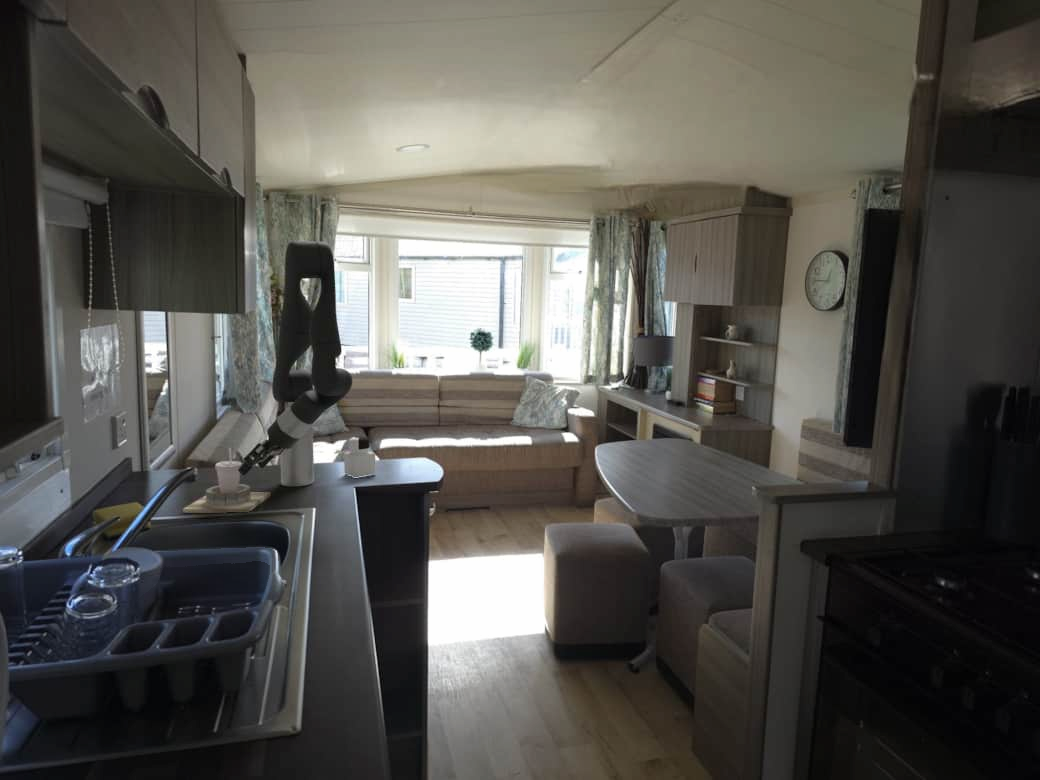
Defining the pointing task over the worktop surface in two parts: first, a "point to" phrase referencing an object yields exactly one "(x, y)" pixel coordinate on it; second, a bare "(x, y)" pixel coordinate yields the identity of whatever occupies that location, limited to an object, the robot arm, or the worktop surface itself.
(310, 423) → the robot arm
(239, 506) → the collar stand
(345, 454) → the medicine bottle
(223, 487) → the smoothie
